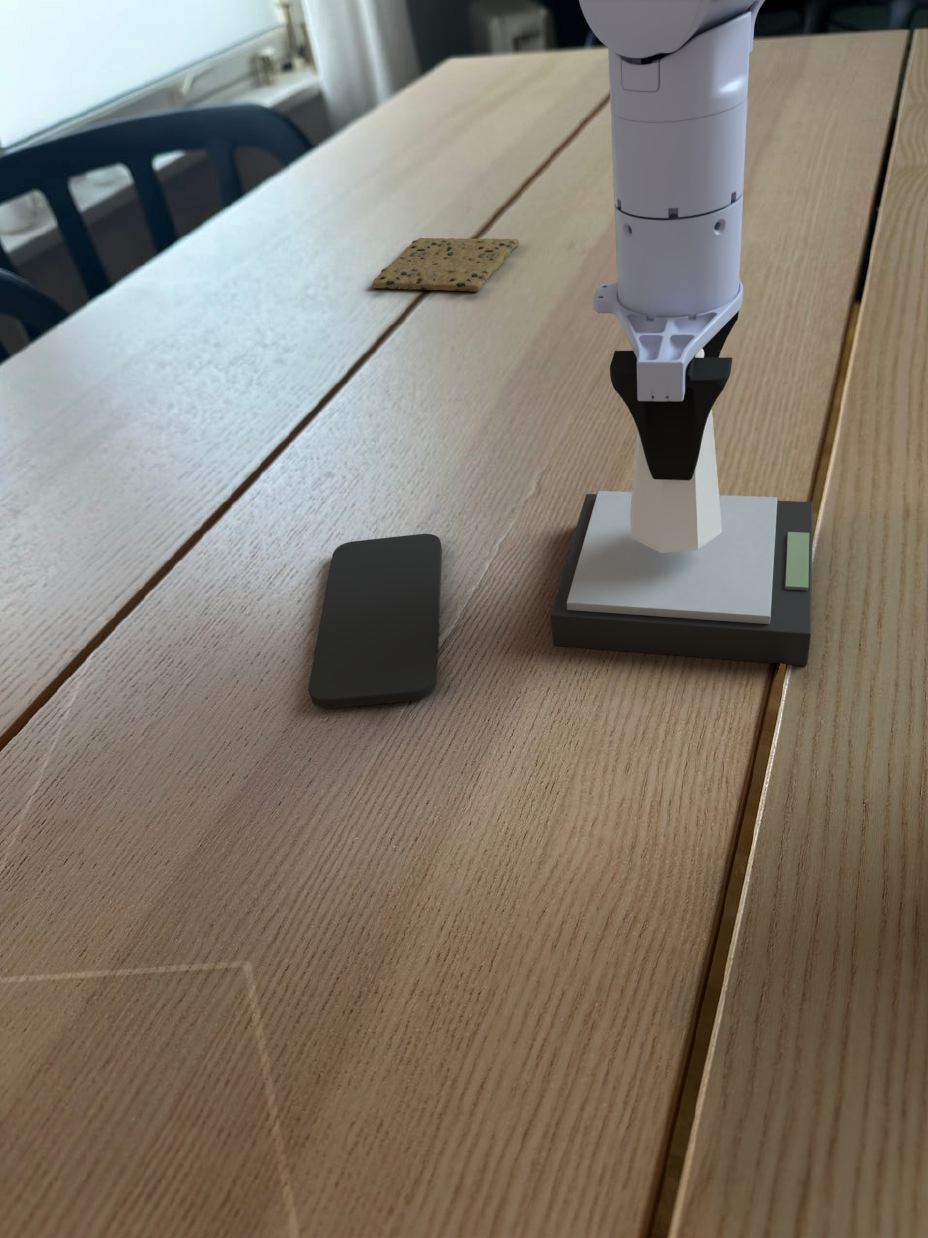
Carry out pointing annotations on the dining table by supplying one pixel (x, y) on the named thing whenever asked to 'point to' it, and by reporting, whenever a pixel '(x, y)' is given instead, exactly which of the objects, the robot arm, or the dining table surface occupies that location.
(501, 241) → the cookie
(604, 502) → the scale
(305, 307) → the dining table surface
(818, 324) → the dining table surface
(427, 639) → the phone
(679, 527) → the pepper shaker
